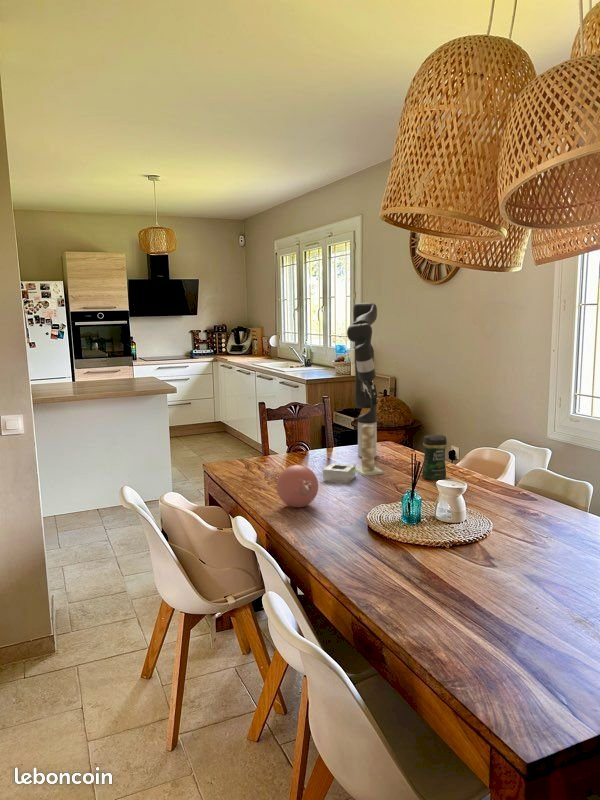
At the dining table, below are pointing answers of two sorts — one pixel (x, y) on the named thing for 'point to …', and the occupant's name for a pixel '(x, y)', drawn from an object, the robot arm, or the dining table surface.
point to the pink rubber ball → (297, 486)
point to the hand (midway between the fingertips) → (371, 401)
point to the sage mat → (375, 471)
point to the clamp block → (339, 473)
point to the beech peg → (367, 447)
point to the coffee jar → (434, 457)
